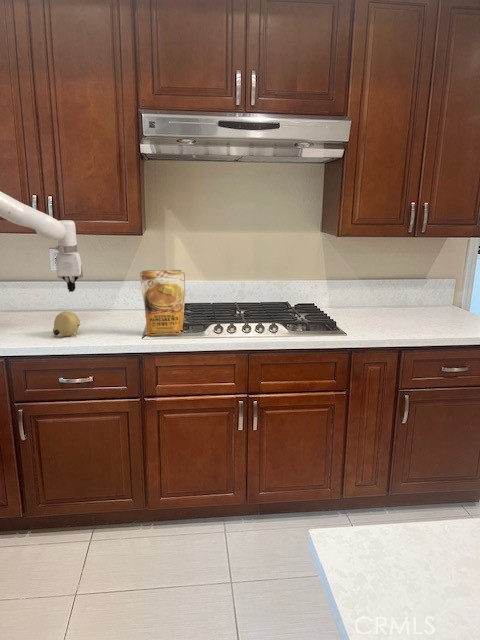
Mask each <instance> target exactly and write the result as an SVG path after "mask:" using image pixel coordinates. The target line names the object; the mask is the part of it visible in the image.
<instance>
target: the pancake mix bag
mask: <svg viewBox="0 0 480 640" xmlns="http://www.w3.org/2000/svg"><path fill="white" fill-rule="evenodd" d="M139 279H140V285H141V294H142V295H141V296H142V300H143V301H142V302H143V306H144V317H145V322H146V328H145V334H144V335H145V336H150V337H165V336H180V335H181V334H182V335H183V334H184V333H185V332H184V327H183V326H184V319H185V318H184V316H185V304H186V276H185V271H183V270H182V269H148V270H147V269H146V270H142V271H140V272H139ZM180 330H183V332H179V333H170V332H178V331H180ZM150 333H168V334H150Z"/></svg>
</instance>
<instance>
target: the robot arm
mask: <svg viewBox="0 0 480 640" xmlns="http://www.w3.org/2000/svg"><path fill="white" fill-rule="evenodd" d="M0 218H3V219H4V220H6V221H8V222H10V223H13V224H14V225H16V226H17V225H18V226H22V227H25V228H29V229H32V230H35V233H36V234H37V236H39V237H40V238H42V239H45V240H53V241H57V246H55V247H54V250H55V251H58V252H57V253H56V258H55V259H56V262H55V263H56V264H55V265H56V266H55V267H56V275H57V278H58V279H60V280H63V281H64V282H65V283H66V286H67V290H68V293H74V292H75V290H76V281H78V280H80V279H82V278H84V275H83V263H82V259H81V255H80V252H79V251H78V243H77V231H76V230H77V229H76V222H75V221H74V220H69V219H63V220H61V219H60V220H58V219H57V218H54V217H52V216H51V215H49V214H47V213H45V212H42V211H40V210H38V209H35V208H34V207H31V206H30V205H27V204H25V203H23V202H21V201H18V200H17V199H16V198H13V197H12V196H10V195H9V194H6V193H5V192H2V191H1V190H0ZM70 277H71V278H70Z"/></svg>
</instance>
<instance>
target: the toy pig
mask: <svg viewBox="0 0 480 640" xmlns="http://www.w3.org/2000/svg"><path fill="white" fill-rule="evenodd" d="M80 326H81V320H80V318H79V316H78V315H77V314H76V313H74V312H72V311H68V310H66V311H61V312H60V313H58V314H57V315H56V316H55V318H54V322H53V328H52V334H53V335H54V336H55V337H56V338H63V337H71V336H73V337H74V336H76V335H77V331H78V330H79V328H80Z"/></svg>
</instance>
